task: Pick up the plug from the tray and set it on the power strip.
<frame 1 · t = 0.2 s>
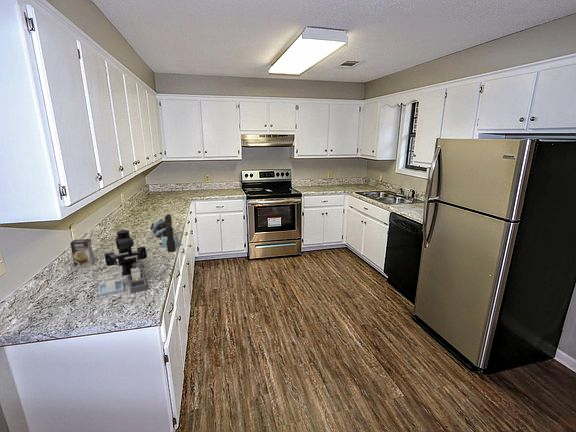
hand: (127, 262, 150), 17 cm above the table, tool horizontal, fingers open, 9 cm apart
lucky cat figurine: (162, 235, 243), on the table
dark tall piece: (171, 246, 219), on the table
coffee box: (84, 265, 186), on the table
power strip: (137, 286, 161), on the table
plug: (111, 289, 156), point 1 cm above the table, touching tray
tray: (111, 290, 156), on the table
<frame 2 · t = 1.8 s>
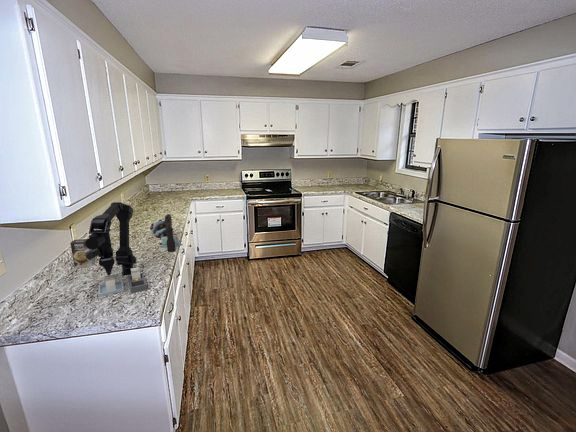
hand: (108, 271, 153), 10 cm above the table, tool pointing down, fingers open, 9 cm apart
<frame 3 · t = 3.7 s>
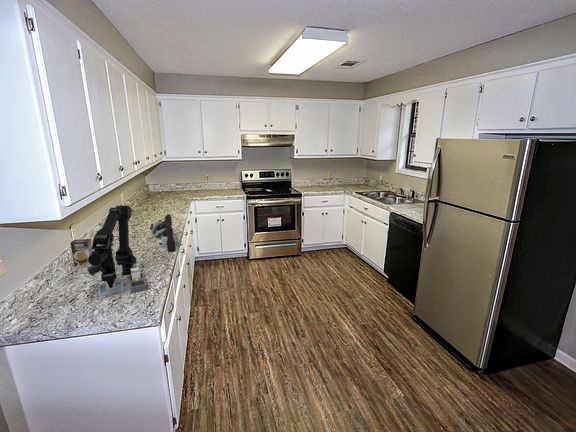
hand: (110, 286, 155), 3 cm above the table, tool pointing down, fingers closed on plug, 4 cm apart
plug: (111, 289, 156), point 1 cm above the table, touching gripper, tray
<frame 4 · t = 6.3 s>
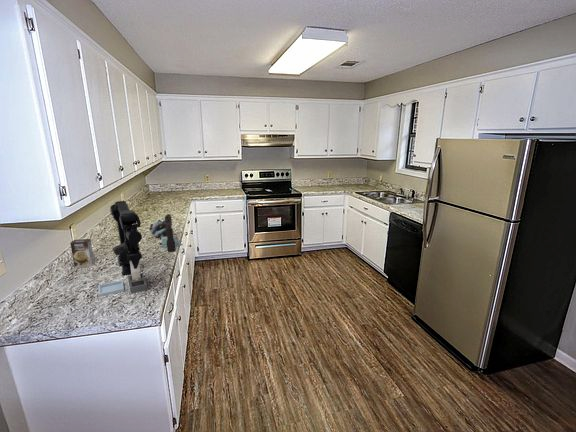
hand: (135, 267, 154), 13 cm above the table, tool pointing down, fingers closed on plug, 4 cm apart
plug: (135, 270, 154), point 11 cm above the table, touching gripper
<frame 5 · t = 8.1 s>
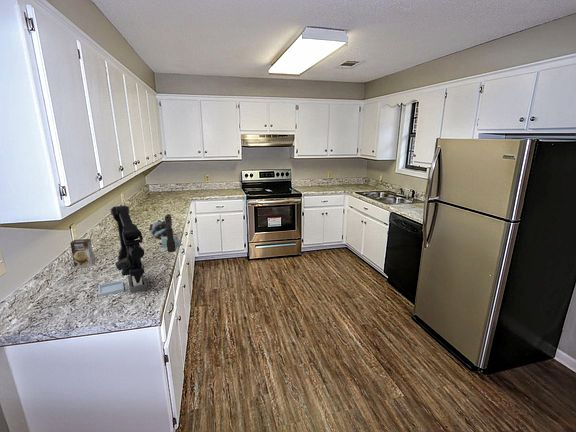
hand: (137, 281, 156), 5 cm above the table, tool pointing down, fingers closed on plug, 4 cm apart
plug: (137, 284, 156), point 3 cm above the table, touching gripper
when the fingers open (4 cm above the table, at t = 9.2 s): plug drops 1 cm, resting on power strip.
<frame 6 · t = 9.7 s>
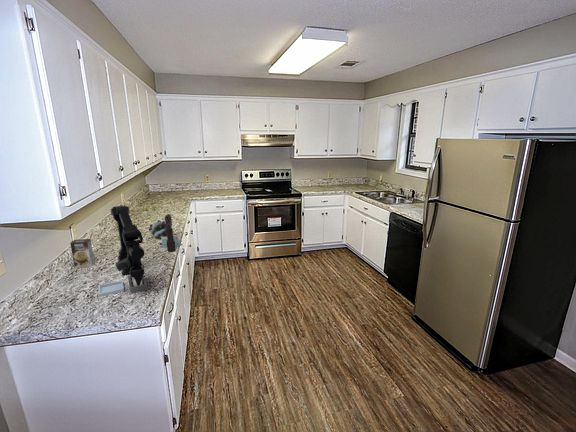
hand: (137, 281, 156), 4 cm above the table, tool pointing down, fingers open, 9 cm apart
plug: (138, 287, 157), point 1 cm above the table, touching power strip
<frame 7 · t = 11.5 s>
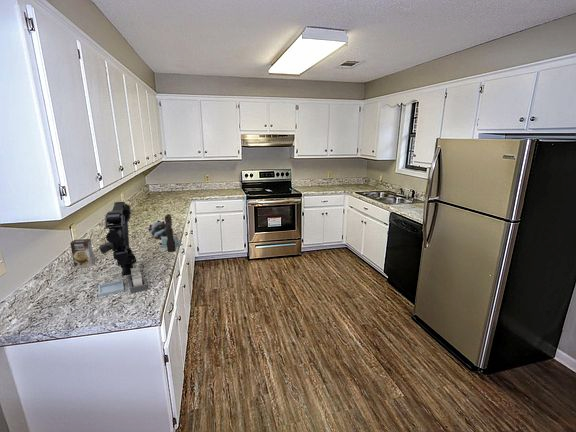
hand: (121, 264, 158), 12 cm above the table, tool pointing down, fingers open, 9 cm apart
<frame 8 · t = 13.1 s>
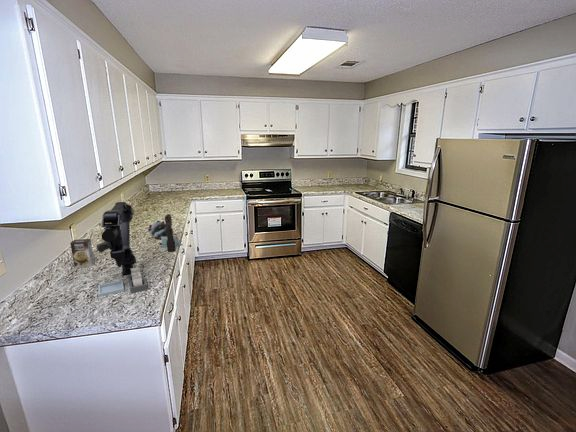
hand: (119, 264, 159), 12 cm above the table, tool pointing down, fingers open, 9 cm apart
at the end: plug 0.1 cm from the target spot on the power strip, point 1.0 cm above the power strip's base; plug tilted 0°; the gripper is holding nothing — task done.
